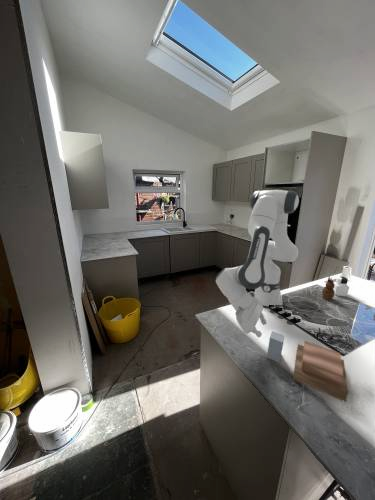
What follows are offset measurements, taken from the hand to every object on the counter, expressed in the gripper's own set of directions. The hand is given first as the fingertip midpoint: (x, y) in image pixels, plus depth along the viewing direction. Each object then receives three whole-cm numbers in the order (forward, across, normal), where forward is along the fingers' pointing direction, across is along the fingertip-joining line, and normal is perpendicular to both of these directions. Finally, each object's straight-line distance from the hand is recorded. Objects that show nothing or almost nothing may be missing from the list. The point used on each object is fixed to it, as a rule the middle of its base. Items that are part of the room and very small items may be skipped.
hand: (262, 329), depth 87 cm
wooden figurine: (+27, +70, -11) cm, 76 cm away
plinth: (+23, 0, -8) cm, 24 cm away
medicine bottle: (+32, +82, -16) cm, 89 cm away
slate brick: (+12, 0, +4) cm, 12 cm away
